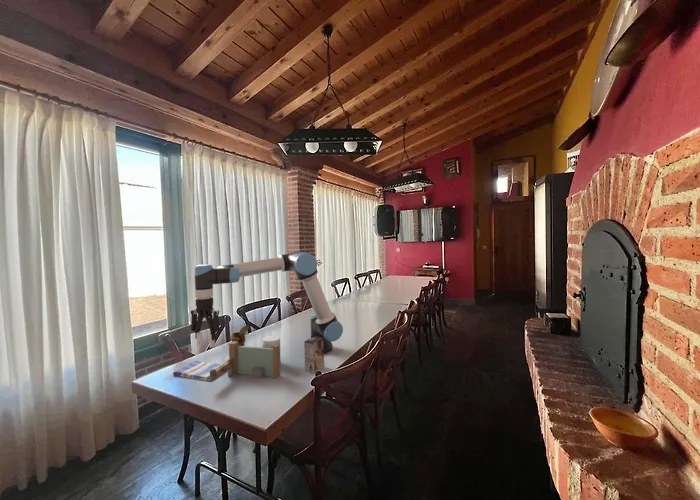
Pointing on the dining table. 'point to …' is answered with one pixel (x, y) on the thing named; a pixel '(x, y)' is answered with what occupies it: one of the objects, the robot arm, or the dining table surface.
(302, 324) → the dining table surface
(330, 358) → the dining table surface
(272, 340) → the supplement tub
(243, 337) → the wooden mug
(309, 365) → the coffee box
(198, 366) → the dish towel
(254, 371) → the door set
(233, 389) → the dining table surface
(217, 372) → the walnut bar
